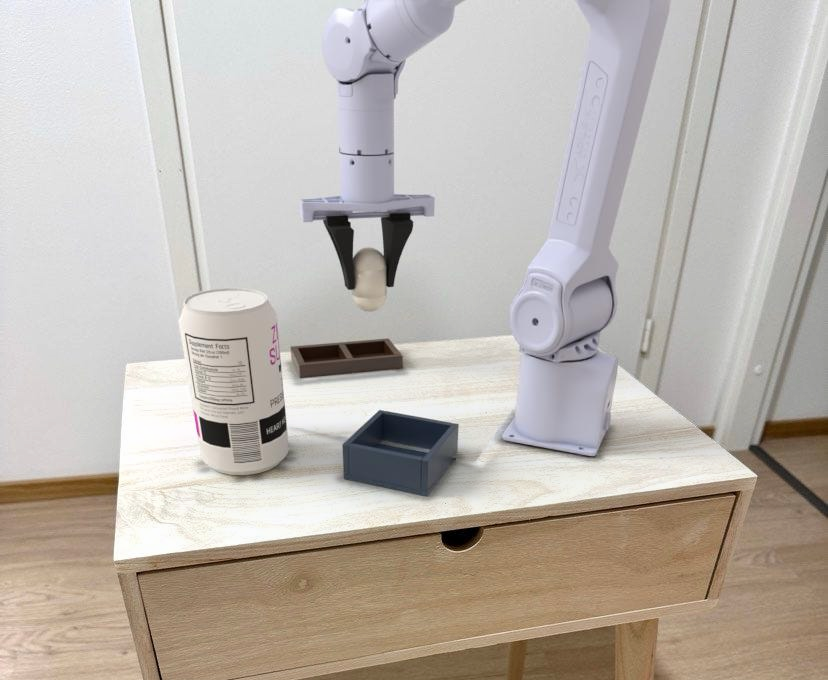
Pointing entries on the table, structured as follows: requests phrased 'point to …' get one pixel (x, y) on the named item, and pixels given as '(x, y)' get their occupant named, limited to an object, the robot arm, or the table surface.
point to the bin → (400, 452)
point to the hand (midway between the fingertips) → (369, 286)
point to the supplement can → (235, 379)
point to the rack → (346, 358)
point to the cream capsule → (369, 279)
